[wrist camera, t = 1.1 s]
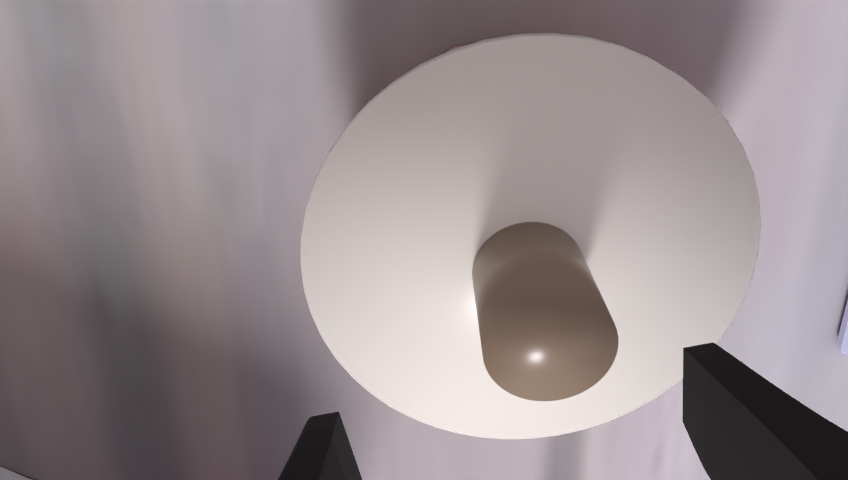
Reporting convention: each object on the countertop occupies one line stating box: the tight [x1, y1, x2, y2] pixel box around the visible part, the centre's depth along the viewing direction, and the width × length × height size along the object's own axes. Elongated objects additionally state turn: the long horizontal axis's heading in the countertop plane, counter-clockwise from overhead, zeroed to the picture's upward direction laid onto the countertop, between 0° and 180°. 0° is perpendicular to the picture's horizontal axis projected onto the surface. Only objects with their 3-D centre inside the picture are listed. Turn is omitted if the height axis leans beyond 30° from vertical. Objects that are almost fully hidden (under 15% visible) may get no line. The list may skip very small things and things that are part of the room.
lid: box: [301, 33, 761, 439], centre depth 17 cm, size 13×13×4 cm
